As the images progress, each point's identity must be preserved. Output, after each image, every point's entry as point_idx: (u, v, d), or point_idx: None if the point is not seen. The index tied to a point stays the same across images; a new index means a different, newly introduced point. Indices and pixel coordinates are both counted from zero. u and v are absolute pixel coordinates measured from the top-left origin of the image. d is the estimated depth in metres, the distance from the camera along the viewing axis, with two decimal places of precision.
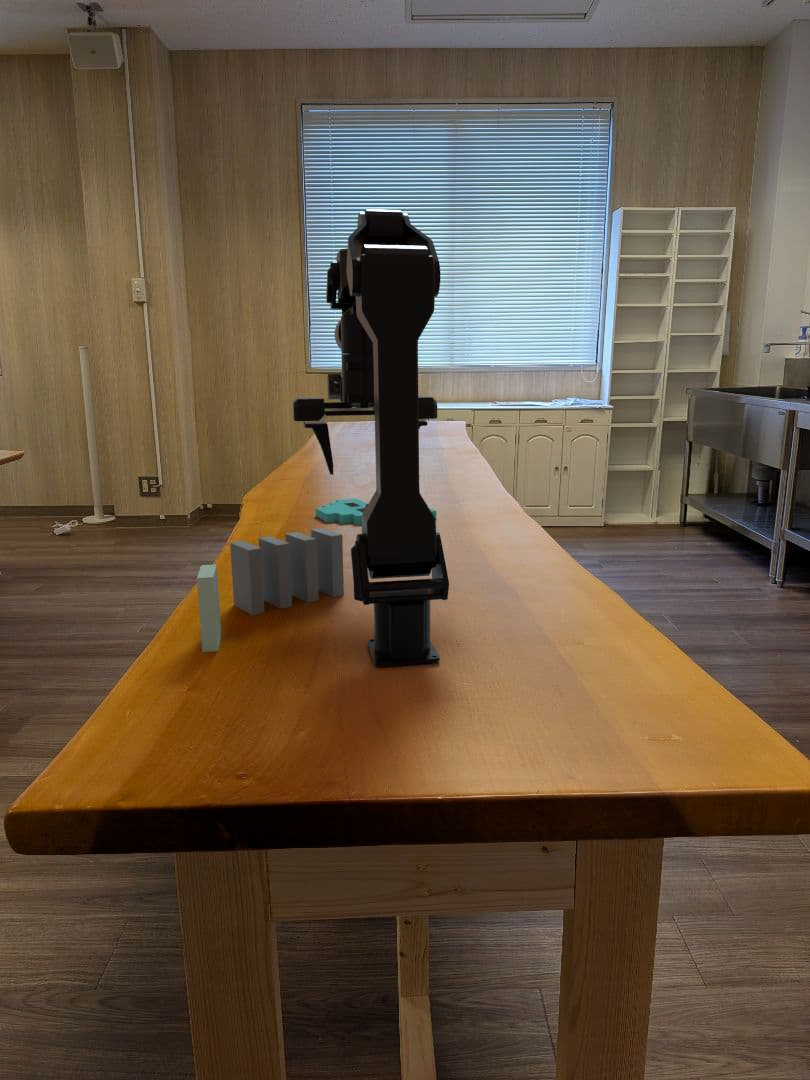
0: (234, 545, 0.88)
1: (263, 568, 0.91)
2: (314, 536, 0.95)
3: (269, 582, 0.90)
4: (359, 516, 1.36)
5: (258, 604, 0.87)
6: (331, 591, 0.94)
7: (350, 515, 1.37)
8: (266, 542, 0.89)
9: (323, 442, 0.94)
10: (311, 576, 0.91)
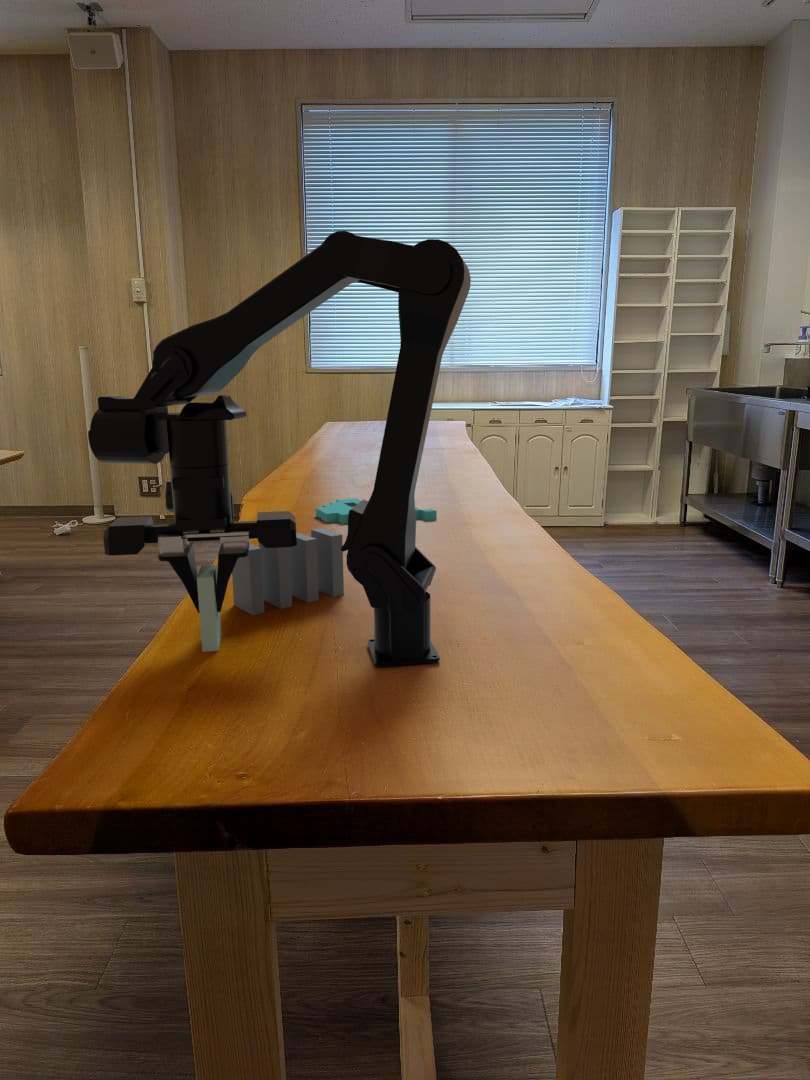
0: None
1: (263, 568, 0.91)
2: (314, 536, 0.95)
3: (269, 582, 0.90)
4: None
5: (258, 604, 0.87)
6: (331, 591, 0.94)
7: None
8: None
9: (184, 577, 0.74)
10: (311, 576, 0.91)
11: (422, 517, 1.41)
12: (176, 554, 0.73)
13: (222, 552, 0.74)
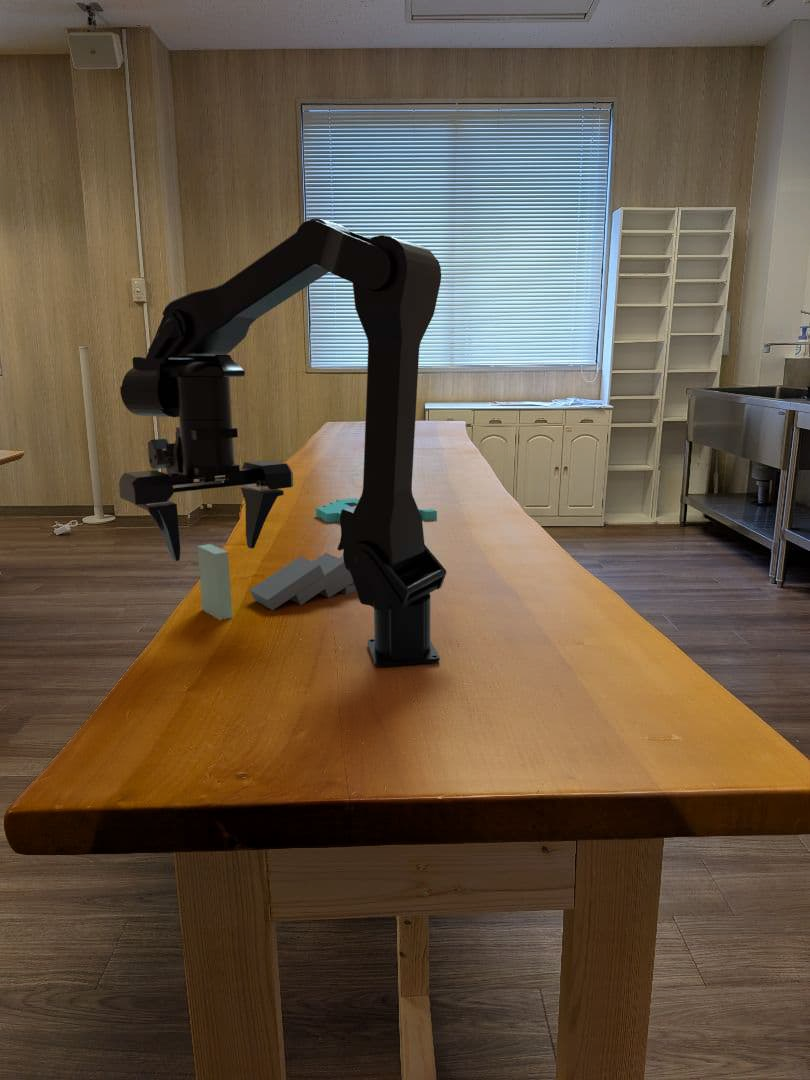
0: (303, 558, 0.94)
1: None
2: None
3: None
4: None
5: (278, 600, 0.88)
6: None
7: None
8: (333, 556, 0.95)
9: (171, 525, 0.79)
10: (346, 579, 0.94)
11: (422, 517, 1.41)
12: (164, 504, 0.78)
13: (263, 492, 0.85)
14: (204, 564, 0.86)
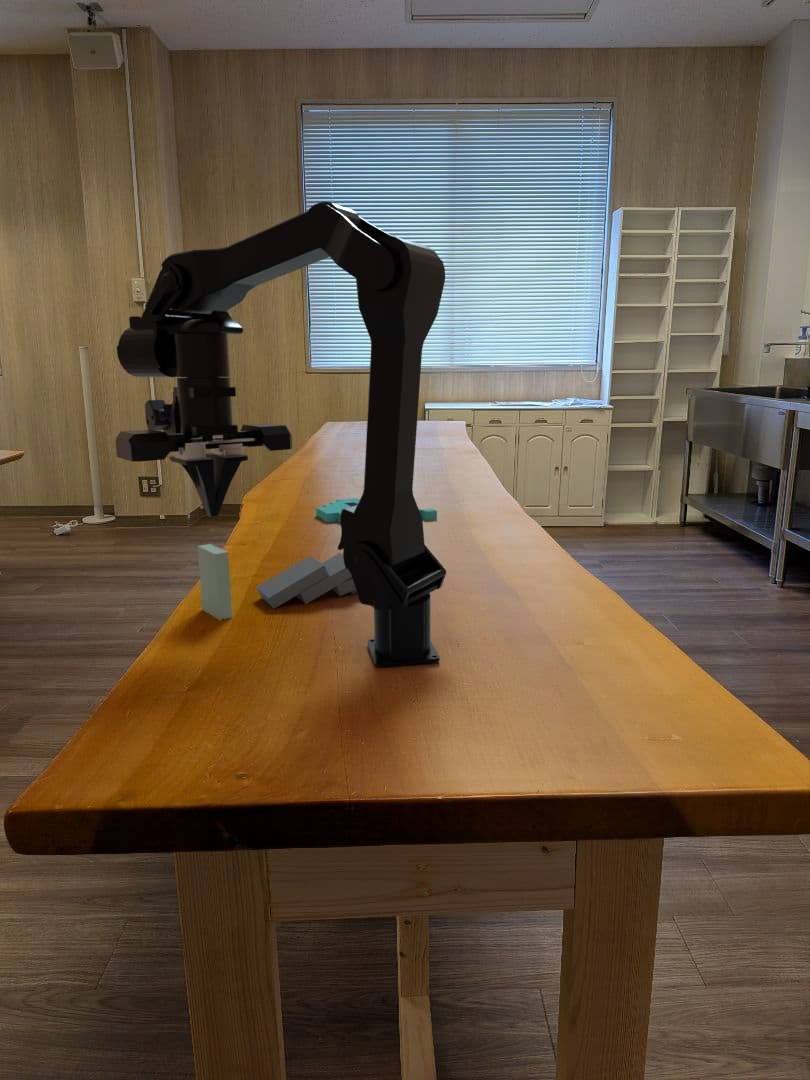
0: (311, 558, 0.94)
1: None
2: None
3: None
4: None
5: (280, 598, 0.89)
6: None
7: None
8: None
9: (207, 480, 0.80)
10: None
11: (422, 517, 1.41)
12: (201, 459, 0.79)
13: (226, 457, 0.81)
14: (204, 564, 0.86)
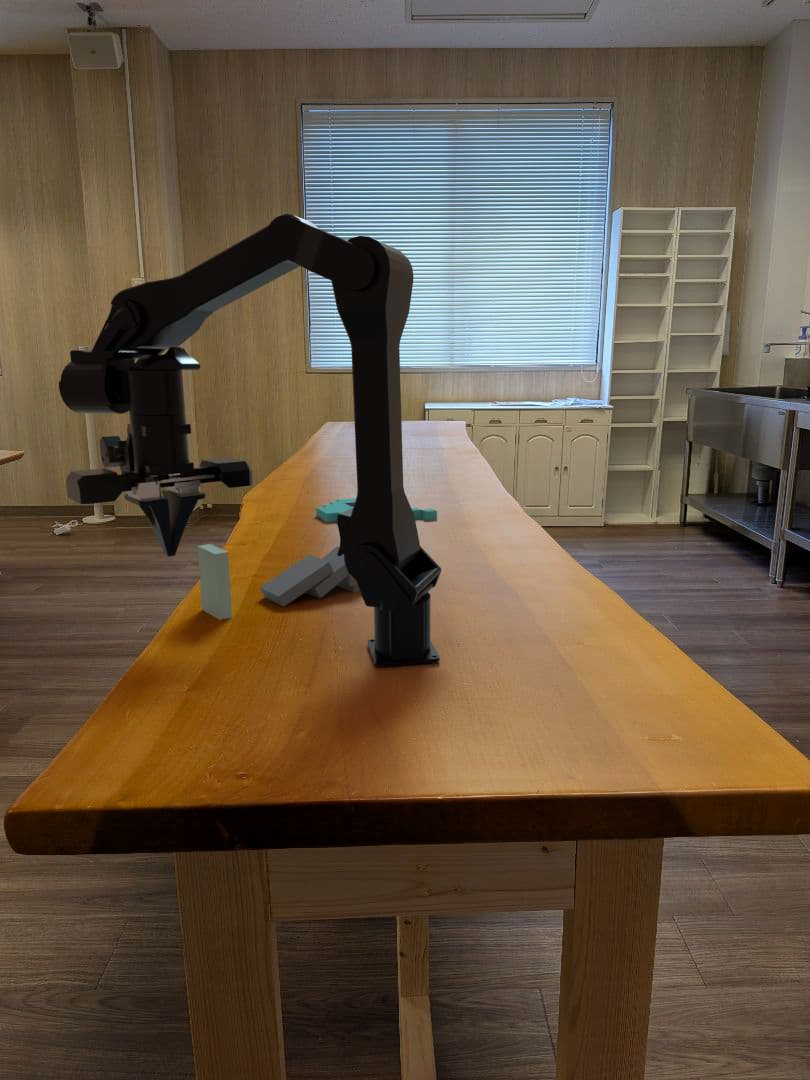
0: (313, 556, 0.95)
1: None
2: None
3: None
4: None
5: (289, 596, 0.90)
6: None
7: None
8: None
9: (162, 520, 0.78)
10: None
11: (422, 517, 1.41)
12: (155, 499, 0.77)
13: (182, 496, 0.79)
14: (204, 564, 0.86)
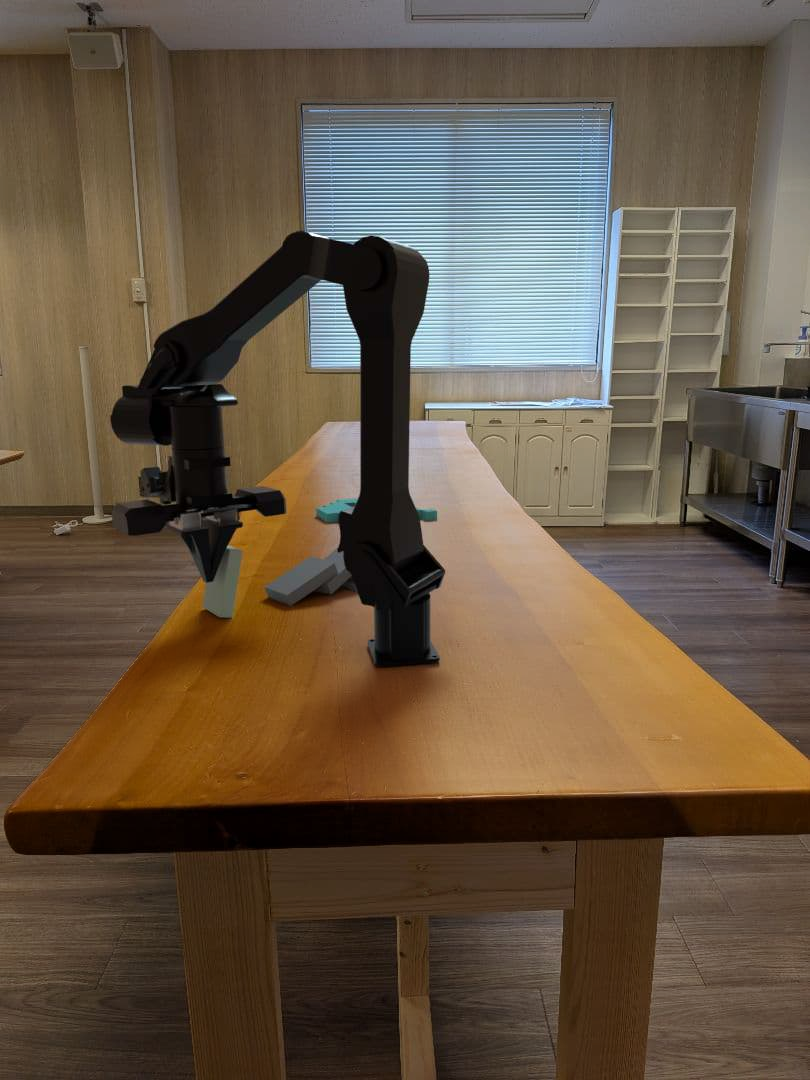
0: (315, 558, 0.96)
1: None
2: None
3: None
4: None
5: (296, 596, 0.90)
6: None
7: None
8: None
9: (202, 549, 0.81)
10: None
11: (423, 517, 1.41)
12: (196, 528, 0.80)
13: (221, 525, 0.82)
14: None
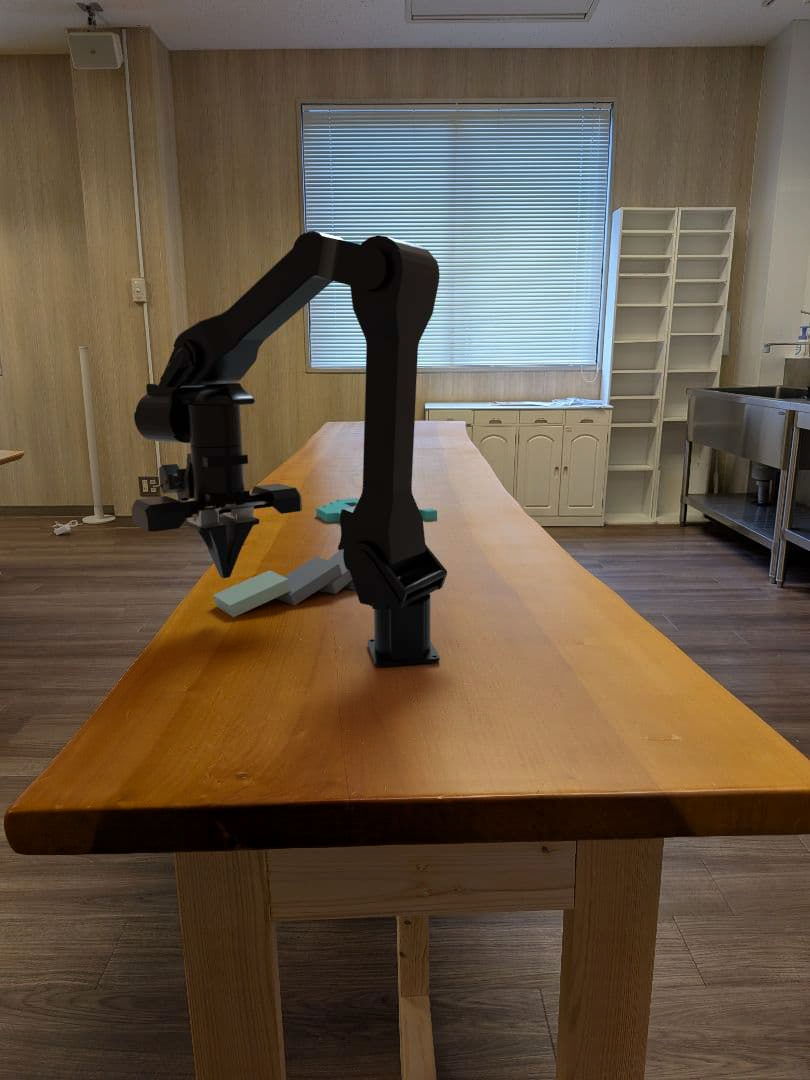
0: (320, 558, 0.96)
1: None
2: None
3: None
4: None
5: (299, 595, 0.90)
6: None
7: None
8: None
9: (220, 545, 0.83)
10: None
11: (423, 517, 1.41)
12: (214, 525, 0.82)
13: (238, 522, 0.83)
14: (263, 579, 0.91)
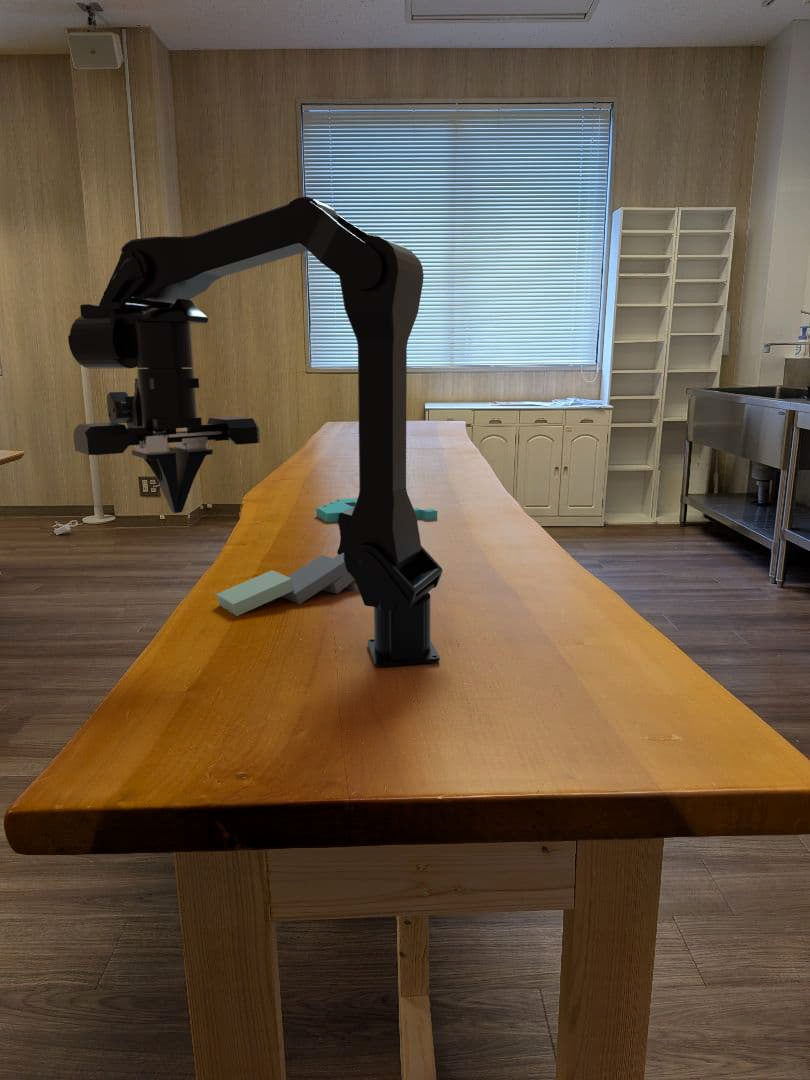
0: (326, 557, 0.97)
1: None
2: None
3: None
4: None
5: (305, 594, 0.91)
6: (355, 583, 0.96)
7: None
8: None
9: (169, 475, 0.78)
10: None
11: (423, 517, 1.41)
12: (163, 453, 0.77)
13: (189, 451, 0.78)
14: (266, 578, 0.91)
